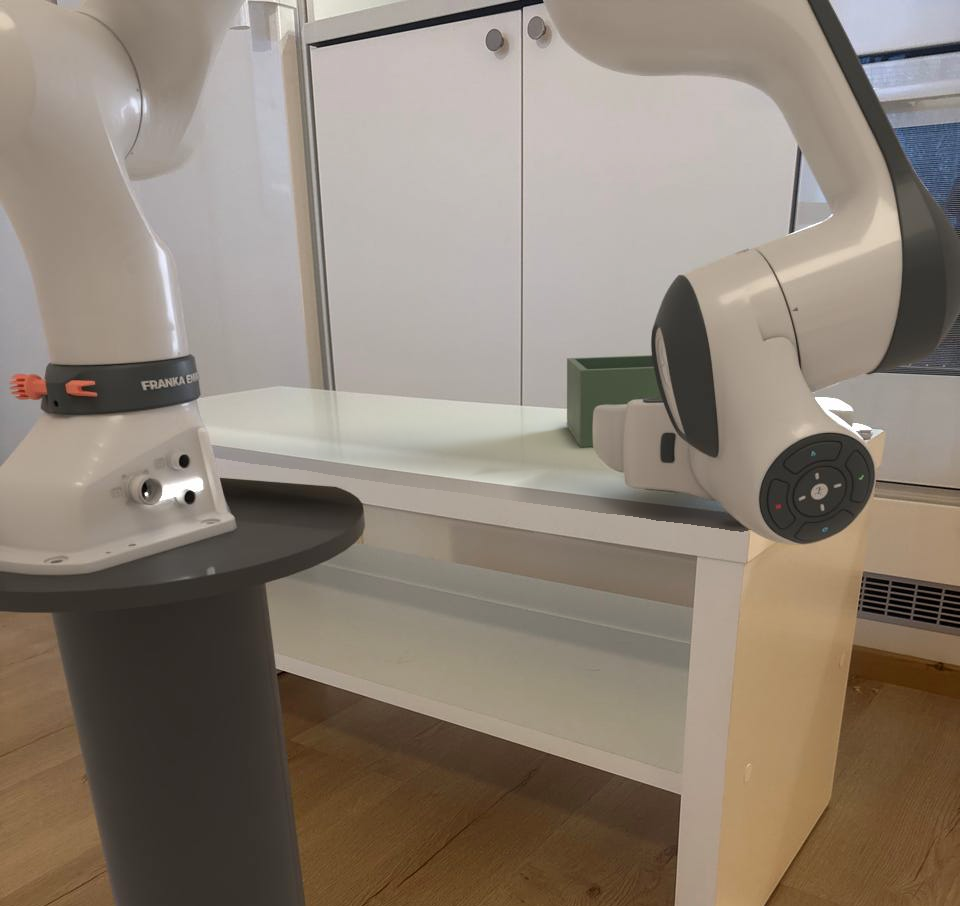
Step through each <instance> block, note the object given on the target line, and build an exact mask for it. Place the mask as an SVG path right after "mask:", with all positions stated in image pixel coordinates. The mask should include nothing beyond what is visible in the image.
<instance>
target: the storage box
mask: <svg viewBox="0 0 960 906" xmlns="http://www.w3.org/2000/svg"><path fill="white" fill-rule="evenodd" d="M653 397H661V394H660V391H659V388H658V384H657V380H656V375H655V371H654V366H653V359H652V354H649V355H648V354H647V355H622V356H621V355H620V356H594V357H593V356H592V357H568V358H566V428H567V430H568V431H569V433H570V434H571V435H572V437H573V438H574V440H575V441H576V443H577V444H578V446H579V447H580V448H591V447H592V448H593V412H594V409H595V407H597V406H599V405H622V404H627V403H628V402H630V401H632V400H637V399H644V398H653Z"/></svg>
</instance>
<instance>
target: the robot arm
mask: <svg viewBox="0 0 960 906" xmlns="http://www.w3.org/2000/svg"><path fill="white" fill-rule="evenodd" d="M542 1H543V4H544V6H545V8H546V11H547V14H548V15H549V18H550V19H551V22H552V23H553V25H554V28H555V29H556V31H557V33H558V34H559V36H560V37H561V39H562V40H563V41H564V43H565V44H566V45H568V47H570V48H571V49H572V50H573V51H574V52H575V53H577V54H578V55H580V56H581V57H582V58H584V59H585V60H587V61H589V62H590V63H593V64H595V65H597V66H599V67H602V68H604V69H606V70H610V71H613V72H616V73H621V74H626V75H632V76H639V77H667V76H669V77H671V76H673V77H674V76H677V77H678V76H696V77H697V76H699V77H711V78H720V79H727V80H732V81H737V82H740V83H744V84H747V85H748V86H751V87H754V88H755V89H757V90H759V91H761V93H764V94H765V95H766V96H767V97H768V98H770V99H771V100H772V102H774V104H775V105H776V106H777V108H778V109H779V111H780V113H781V114H782V116H783V118H784V120H785V122H786V124H787V126H788V128H789V130H790V132H791V134H792V136H793V138H794V140H795V142H796V144H797V146H798V148H799V149H800V152H801V154H802V155H803V157H804V158H803V159H805V161H806V163H807V165H808V167H809V169H810V171H811V173H812V176H813V177H814V179H815V181H816V183H817V185H818V188H819V189H820V192H821V194H822V196H823V197H824V199H825V201H826V203H827V205H828V208H829V210H830V213H831V215H829V216H828V218H826V219H824V220H822V221H820V222H817V223H815V224H812V225H809V226H807V227H804V228H802V229H798V230H797V231H794V232H792V233H789V234H786V235H783V236H781V237H778V238H776V239H773V240H771V241H768V242H765V243H763V244H760V245H758V246H755V247H753V248H750V249H749V248H745V249H743V250H740V251H737V252H734V253H732V254H730V255H727V256H725V257H722V258H719V259H716V260H714V261H711V262H709V263H707V264H704V265H701V266H699V267H697V268H694V269H692V270H689V271H687V272H685V273H683V274H678V275H677V276H676V277H675V279H674V280H673V281H672V283H671V284H670V286H669V287H668V288H667V291H666V292H665V294H664V296H663V299H662V301H661V303H660V306H659V308H658V311H657V314H656V317H655V319H654V322H653V326H652V330H651V335H650V336H651V338H650V343H651V344H650V349H651V355H652V359H653V366H654V371H655V375H656V380H657V384H658V388H659V391H660V394H661V397H653V398H644V399H637V400H632V401H630V402H628V403H627V404H622V405H599V406H597V407H595V409H594V412H593V447H592V448H593V451H594V452H595V454H596V455H597V457H598V458H599V459H600V460H601V461H602V462H603V463H604V464H605V465H606V466H607V467H608V468H610V469H612V470H614V471H615V472H619V473H622V474H623V477H624V483H625V485H626V486H628V487H629V488H632V489H639V490H646V491H658V492H668V493H680V494H685V495H690V496H694V497H696V498H701V499H705V500H707V501H714V502H715V501H716V502H717V503H719V504H720V506H721V507H722V508H723V509H724V510H725V511H726V512H727V513H728V514H729V515H730V516H731V517H732V518H733V519H735V520H736V521H737V522H739V523H740V524H741V525H742V526H744V527H745V528H746V529H748V530H750V531H751V532H753V533H755V534H756V535H758V536H760V537H762V538H764V539H766V540H769V541H772V542H775V543H778V544H784V545H789V546H790V545H792V546H793V545H794V546H804V545H811V544H812V545H813V544H815V543H816V544H817V543H819V542H822V541H823V542H824V541H825V540H827V539H830V538H832V537H833V536H836V535H838V534H839V533H841V532H842V531H844V530H845V529H847V528H848V526H850V525H851V524H852V523H853V522H854V521H855V520H856V519H857V518H858V517H859V516H860V515H861V514H862V513H863V511H864V509H865V508H866V507H867V506H868V503H869V502H870V500H871V498H872V495H873V493H874V490H875V486H876V481H877V464H876V460H875V457H874V455H873V452H872V450H871V448H870V446H869V445H868V443H867V442H866V441H870V440H872V437H873V428H871V427H869V426H867V425H864V424H861V423H855V422H854V419H855V411H854V409H853V407H852V406H850V405H849V404H847V403H845V402H844V401H842V400H840V399H838V398H833V397H815V395H814V393H817V392H820V391H822V390H824V389H827V388H830V387H833V386H836V385H839V384H841V383H844V382H846V381H850V380H852V379H855V378H857V377H860V376H863V375H868V376H869V375H873V374H877V373H881V372H884V371H888V370H891V369H895V368H899V367H902V366H907V365H911V364H914V363H918V362H923V361H924V360H927V359H928V358H930V357H931V356H932V354H933V353H935V351H936V349H937V348H938V347H939V346H940V344H941V343H942V342H943V340H944V339H945V338H946V337H947V335H948V333H949V332H950V330H951V329H952V327H953V326H954V325H955V322H956V321H957V318H958V316H959V315H960V238H959V236H958V234H957V231H956V230H955V228H954V226H953V225H952V223H951V221H950V219H949V218H948V216H947V214H946V213H945V211H943V209H942V208H941V206H940V205H939V202H938V201H936V199H935V198H934V196H933V195H932V193H931V192H930V191H929V189H928V188H927V186H925V183H923V181H922V179H921V178H920V177H919V175H918V174H917V172H916V170H915V168H914V166H913V165H912V163H911V161H910V159H909V157H908V155H907V153H906V151H905V149H904V147H903V145H902V143H901V141H900V139H899V137H898V135H897V132H896V131H895V129H894V127H893V125H892V122H891V121H890V119H889V117H888V114H887V113H886V111H885V109H884V107H883V104H882V103H881V101H880V99H879V97H878V95H877V93H876V91H875V89H874V86H873V85H872V82H871V81H870V79H869V77H868V75H867V73H866V71H865V69H864V67H863V64H862V62H861V60H860V58H859V57H858V55H857V52H856V50H855V48H854V46H853V44H852V42H851V40H850V38H849V36H848V33H847V32H846V29H844V26H843V24H842V22H841V21H840V18H839V17H838V14H837V13H836V11H835V9H834V7H833V5H832V3H831V1H830V0H542ZM245 2H246V0H82V1H81V2H80V3H79V4H78V5H77V6H75V7H74V8H73V9H70V8H68V7H64V6H62V5H59V4H57V3H56V4H55V3H53V2H50V1H48V0H0V204H1V206H2V208H3V210H4V211H5V214H6V215H7V217H8V219H9V221H10V223H11V226H12V228H13V230H14V232H15V234H16V237H17V239H18V241H19V243H20V245H21V248H22V251H23V253H24V257H25V259H26V262H27V264H28V267H29V272H30V275H31V278H32V282H33V287H34V292H35V295H36V299H37V304H38V308H39V313H40V318H41V322H42V327H43V332H44V336H45V341H46V347H47V351H48V356H49V361H50V362H49V363H48V364H47V365H46V366H45V367H46V368H45V373H44V378H42V377H41V376H40V375H38V374H35V373H31V374H25V373H15V374H13V375H12V376H11V378H10V379H11V381H9V384H8V385H13V386H9V390H14V391H11V392H10V393H11V394H12V395H17V396H15V399H17V400H33V401H38V400H39V401H40V409H41V410H42V411H43V413H42V415H40V418H39V419H38V420H37V421H36V422H35V423H34V425H33V426H32V427H31V428H30V430H29V431H28V432H27V434H26V435H25V436H24V437H23V439H22V440H21V442H20V443H19V444H18V445H17V446H16V447H15V449H14V450H13V451H12V452H11V454H10V455H9V456H7V458H6V459H5V460H4V461H3V463H2V464H1V465H0V571H2V572H9V573H17V574H28V575H54V576H56V575H78V574H88V573H93V572H97V571H100V570H104V569H107V568H110V567H114V566H117V565H120V564H124V563H127V562H130V561H134V560H137V559H140V558H144V557H147V556H150V555H154V554H157V553H160V552H164V551H167V550H170V549H174V548H177V547H180V546H184V545H187V544H190V543H194V542H197V541H200V540H204V539H207V538H210V537H214V536H217V535H220V534H224V533H227V532H230V531H233V530H235V529H236V528H237V525H236V521H235V517H234V516H233V515H232V514H231V511H230V509H229V507H228V505H227V502H226V500H225V497H224V494H223V490H222V486H221V482H220V478H221V477H220V474H219V469H218V465H217V462H216V457H215V454H214V450H213V446H212V441H211V438H210V435H209V432H208V430H207V428H206V426H205V424H204V421H203V418H202V416H201V413H200V410H199V404H198V399H199V398H200V397H201V395H202V394H201V387H200V386H201V385H200V379H201V378H200V373H199V371H198V369H197V363H196V357H195V356H194V355H193V354H191V353H190V351H189V350H190V349H189V342H188V336H187V329H186V322H185V315H184V308H183V307H184V306H183V301H182V294H181V287H180V279H179V273H178V266H177V263H176V260H175V258H174V255H173V253H172V251H171V250H170V248H169V247H168V245H167V244H166V243H165V242H164V241H163V240H162V239H161V238H160V237H159V236H158V234H157V233H156V232H155V231H154V229H153V227H152V225H151V224H150V222H149V220H148V218H147V216H146V215H145V213H144V210H143V208H142V206H141V204H140V201H139V199H138V196H137V195H136V191H135V189H134V186H133V184H132V182H140V181H146V180H151V179H154V178H158V177H162V176H165V175H168V174H171V173H174V172H176V171H180V170H181V169H182V168H184V167H185V166H187V165H188V164H189V163H190V162H191V161H192V160H193V159H194V158H195V156H196V154H197V153H198V151H199V149H200V147H201V144H202V142H203V138H204V134H205V129H206V128H205V127H206V111H205V110H206V109H205V104H204V99H203V98H204V94H205V90H206V87H207V84H208V83H209V82H208V81H209V78H210V75H211V72H212V69H213V66H214V64H215V61H216V58H217V55H218V53H219V50H220V48H221V46H222V43H223V41H224V39H225V37H226V34H227V32H228V30H229V29H230V27H231V25H232V23H233V21H234V20H235V19H236V16H237V14H238V13H239V11H240V10H241V8H242V7H243V5H244V3H245Z"/></svg>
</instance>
